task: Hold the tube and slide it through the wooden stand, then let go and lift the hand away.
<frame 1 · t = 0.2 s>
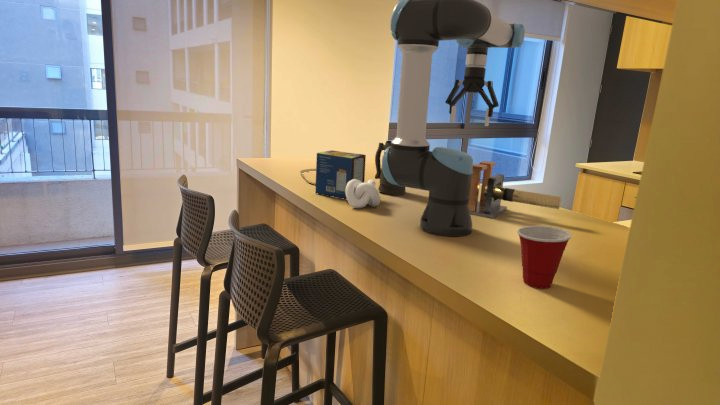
hand: (469, 124, 177), 28 cm above the table, tool pointing down, fingers open, 13 cm apart
wooden stand: (477, 209, 162), on the table
protein box: (339, 195, 173), on the table
tube: (521, 196, 153), point 7 cm above the table, slide at 0.0 cm
beaded necklace: (324, 179, 201), on the table
beer stein: (388, 192, 182), on the table
white knot sculpture: (360, 206, 158), on the table
plastic cup: (535, 284, 100), on the table
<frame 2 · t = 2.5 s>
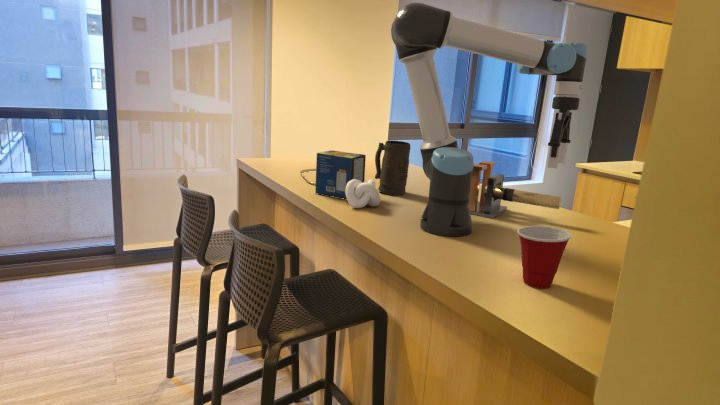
hand: (556, 165, 145), 19 cm above the table, tool pointing down, fingers open, 13 cm apart
nothing on the table moved.
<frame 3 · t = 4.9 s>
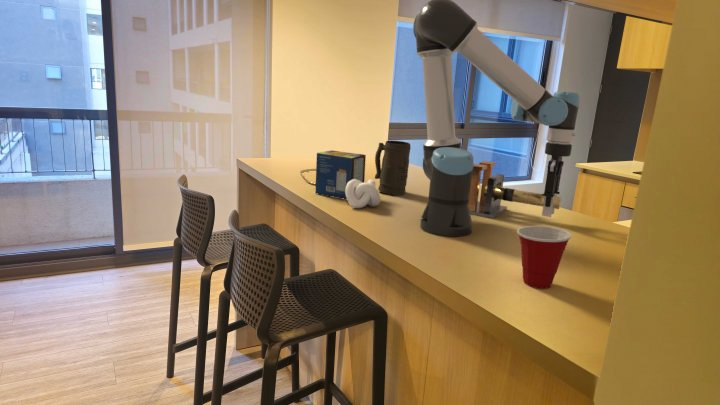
hand: (547, 214, 149), 3 cm above the table, tool pointing down, fingers closed on tube, 4 cm apart
tube: (521, 196, 153), point 7 cm above the table, slide at 0.0 cm, touching gripper
everything else where it was.
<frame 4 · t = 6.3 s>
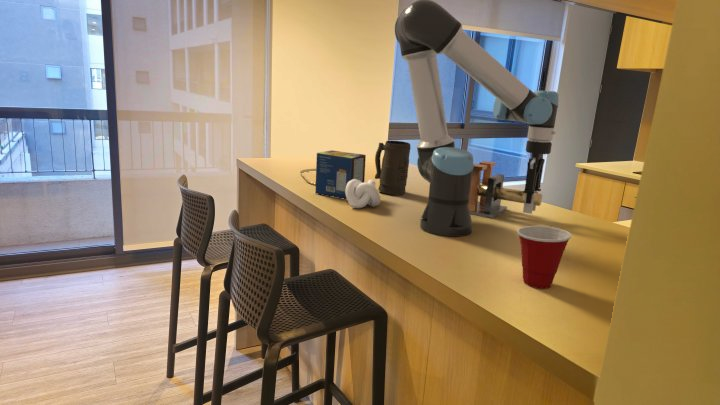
hand: (529, 211, 152), 3 cm above the table, tool pointing down, fingers closed on tube, 4 cm apart
tube: (503, 193, 156), point 7 cm above the table, slide at 5.9 cm, touching gripper
everything else where it was.
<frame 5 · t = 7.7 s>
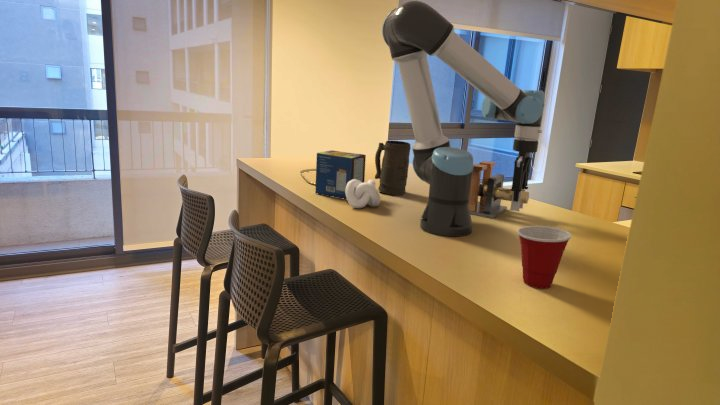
hand: (516, 209, 154), 3 cm above the table, tool pointing down, fingers closed on tube, 4 cm apart
tube: (491, 192, 158), point 7 cm above the table, slide at 10.0 cm, touching gripper
everything else where it was.
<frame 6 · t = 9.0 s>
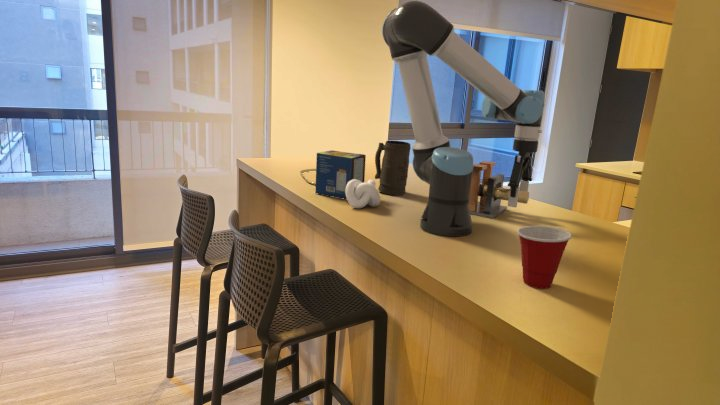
hand: (517, 203, 154), 5 cm above the table, tool pointing down, fingers open, 13 cm apart
tube: (491, 191, 158), point 7 cm above the table, slide at 10.0 cm
everything else where it was.
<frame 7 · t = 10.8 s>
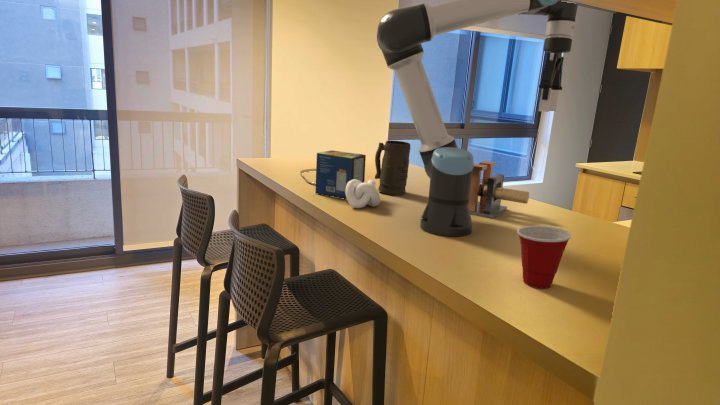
hand: (547, 111, 141), 35 cm above the table, tool pointing down, fingers open, 13 cm apart
nothing on the table moved.
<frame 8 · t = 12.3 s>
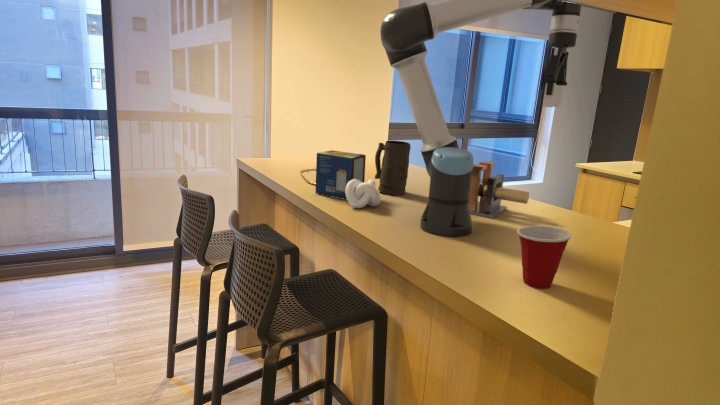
hand: (552, 107, 139), 37 cm above the table, tool pointing down, fingers open, 13 cm apart
nothing on the table moved.
at the end: tube slide at 10.0 cm; the gripper is holding nothing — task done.
